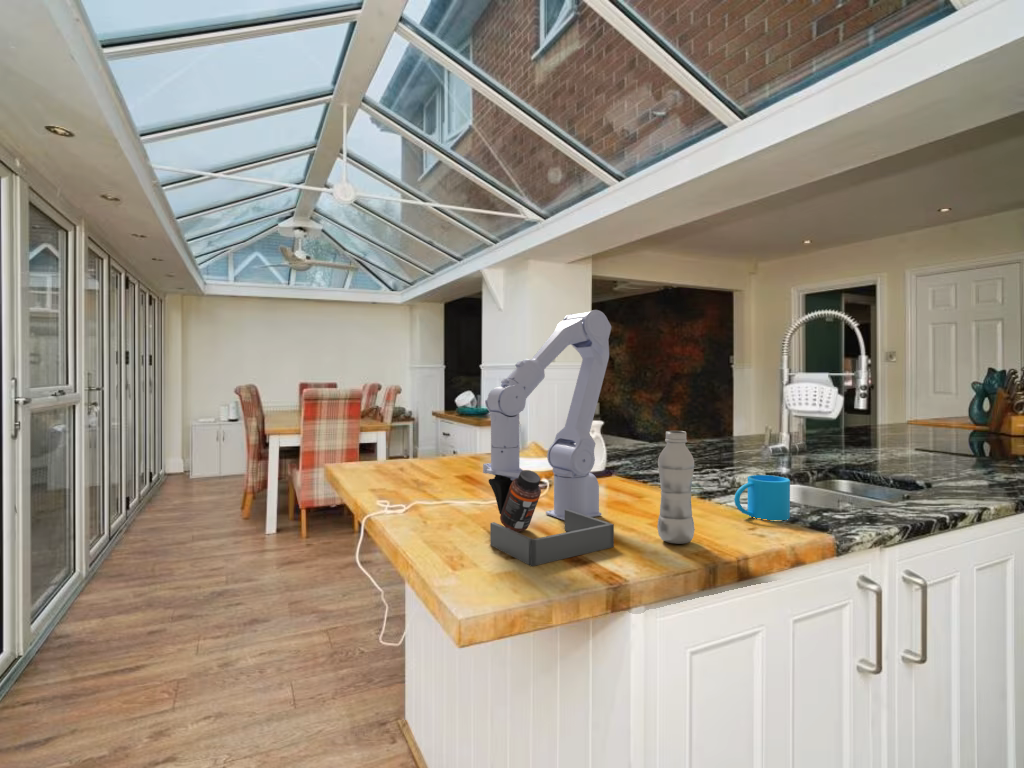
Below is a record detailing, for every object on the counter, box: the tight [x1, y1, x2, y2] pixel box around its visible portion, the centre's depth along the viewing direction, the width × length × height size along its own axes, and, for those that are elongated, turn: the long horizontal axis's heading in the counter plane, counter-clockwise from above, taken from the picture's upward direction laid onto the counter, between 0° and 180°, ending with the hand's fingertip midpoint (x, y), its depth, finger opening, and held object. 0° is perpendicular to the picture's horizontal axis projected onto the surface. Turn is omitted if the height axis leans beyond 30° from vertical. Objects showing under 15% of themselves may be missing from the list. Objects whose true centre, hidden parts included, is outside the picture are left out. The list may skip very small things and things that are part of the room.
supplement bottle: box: [499, 469, 542, 533], centre depth 104 cm, size 6×6×11 cm
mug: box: [733, 474, 791, 521], centre depth 116 cm, size 12×8×8 cm
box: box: [489, 509, 615, 567], centre depth 96 cm, size 18×13×4 cm
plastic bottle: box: [657, 430, 695, 545], centre depth 98 cm, size 6×7×20 cm
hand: (505, 514), depth 109 cm, fingers closed
